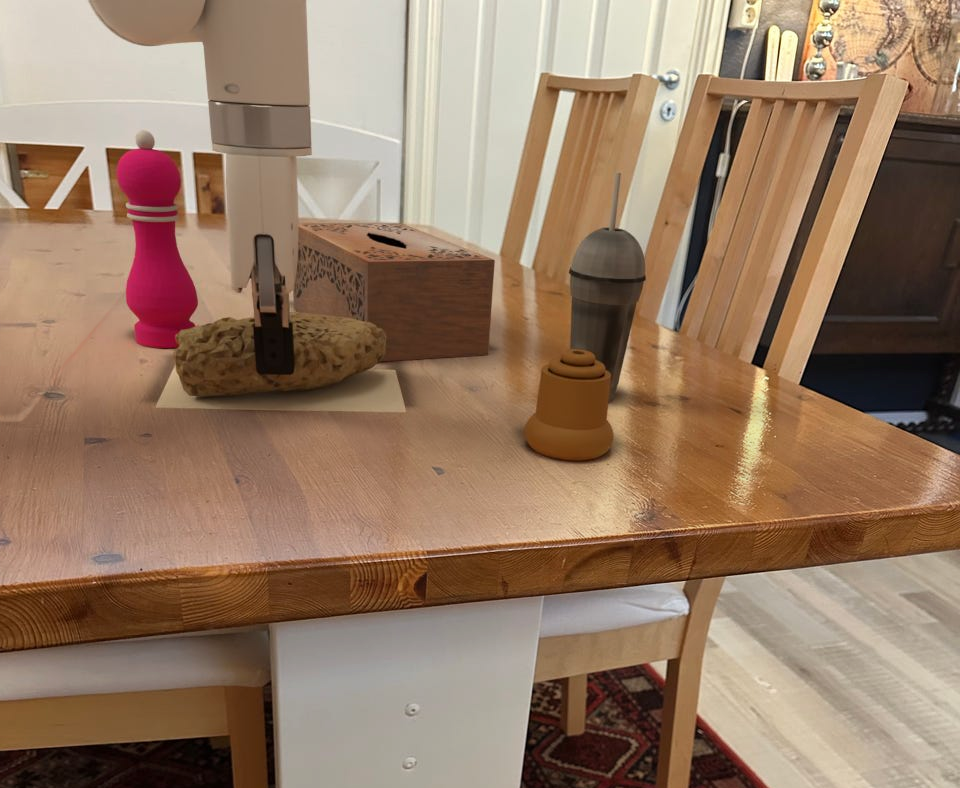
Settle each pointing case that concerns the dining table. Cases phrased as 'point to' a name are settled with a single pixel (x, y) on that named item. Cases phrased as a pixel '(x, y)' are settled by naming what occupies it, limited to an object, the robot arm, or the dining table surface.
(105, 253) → the dining table surface
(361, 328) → the sponge
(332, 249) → the tissue box cover
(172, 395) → the board
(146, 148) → the pepper mill
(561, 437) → the ornamental finial
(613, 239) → the beverage cup
